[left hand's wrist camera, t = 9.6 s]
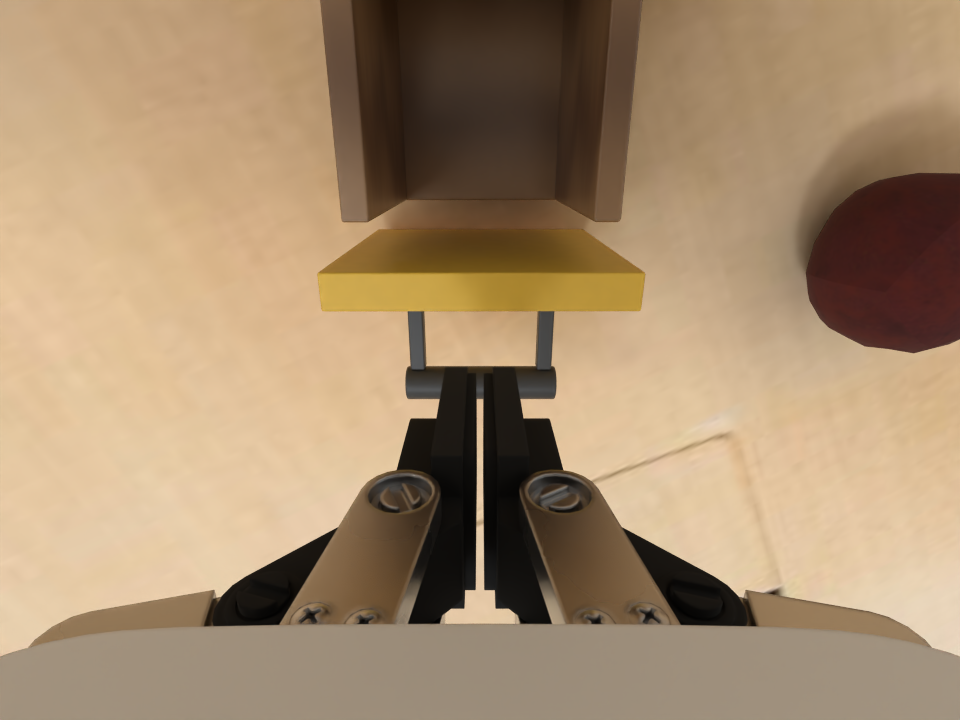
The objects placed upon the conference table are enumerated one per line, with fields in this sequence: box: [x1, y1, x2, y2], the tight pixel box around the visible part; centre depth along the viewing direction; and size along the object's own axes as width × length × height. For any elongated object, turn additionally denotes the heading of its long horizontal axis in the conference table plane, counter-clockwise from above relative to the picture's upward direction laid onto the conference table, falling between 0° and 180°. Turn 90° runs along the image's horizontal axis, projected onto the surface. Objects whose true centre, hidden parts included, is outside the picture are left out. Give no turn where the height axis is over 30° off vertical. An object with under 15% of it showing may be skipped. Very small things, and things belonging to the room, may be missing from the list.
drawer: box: [317, 0, 645, 399], centre depth 17 cm, size 25×10×10 cm, turn 0°
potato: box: [806, 173, 960, 353], centre depth 22 cm, size 7×8×7 cm
